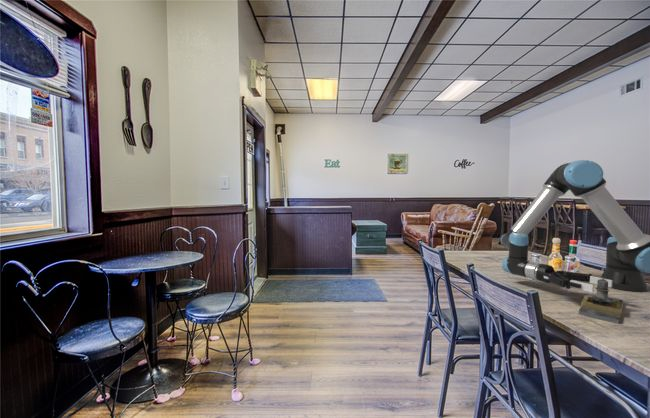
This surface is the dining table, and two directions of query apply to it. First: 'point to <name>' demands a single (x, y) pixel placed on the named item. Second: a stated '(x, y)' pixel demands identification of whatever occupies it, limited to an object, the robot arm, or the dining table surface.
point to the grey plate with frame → (601, 309)
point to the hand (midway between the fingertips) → (602, 286)
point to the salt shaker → (602, 293)
